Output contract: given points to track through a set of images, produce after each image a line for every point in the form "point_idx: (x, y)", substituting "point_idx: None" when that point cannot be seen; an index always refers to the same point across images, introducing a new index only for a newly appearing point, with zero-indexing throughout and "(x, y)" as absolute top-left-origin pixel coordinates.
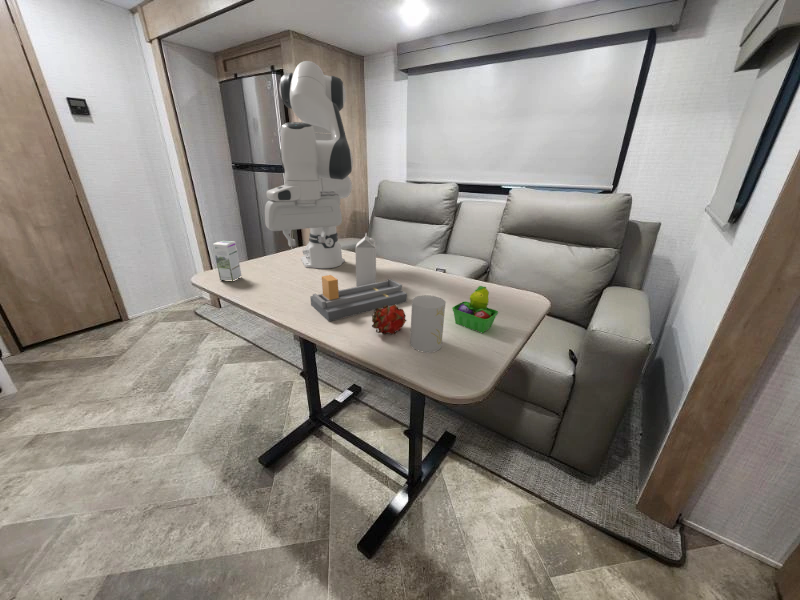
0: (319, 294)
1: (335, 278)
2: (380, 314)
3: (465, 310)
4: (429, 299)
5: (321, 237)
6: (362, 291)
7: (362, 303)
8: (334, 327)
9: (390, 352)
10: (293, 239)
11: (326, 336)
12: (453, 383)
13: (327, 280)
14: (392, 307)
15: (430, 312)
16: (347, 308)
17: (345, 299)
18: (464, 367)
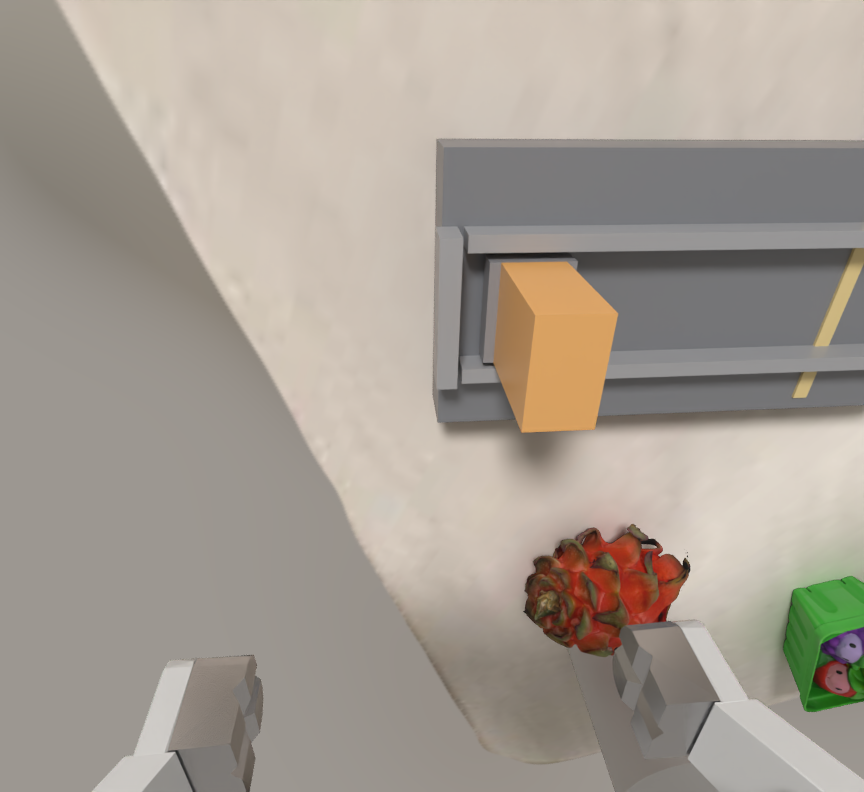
0: (486, 239)
1: (594, 405)
2: (561, 640)
3: (838, 654)
4: (696, 786)
5: (657, 755)
6: (769, 254)
7: (637, 408)
8: (430, 449)
9: (500, 632)
10: (226, 776)
11: (371, 495)
12: (531, 738)
13: (524, 417)
14: None
15: None
16: None
17: None
18: None
